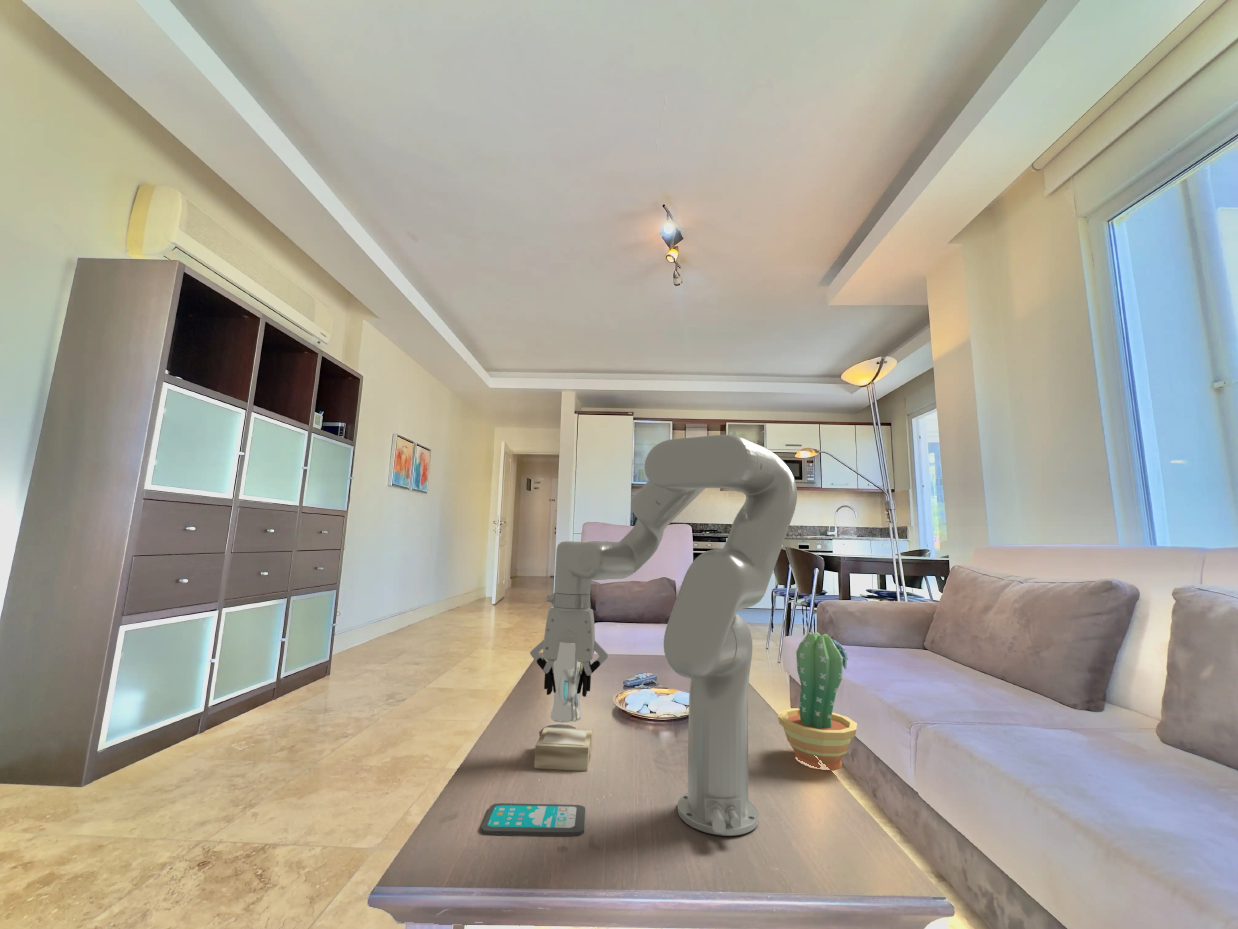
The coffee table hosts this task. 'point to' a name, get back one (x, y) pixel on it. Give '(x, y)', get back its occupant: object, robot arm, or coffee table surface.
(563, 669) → the beer glass
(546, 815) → the smartphone
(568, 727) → the rubber coaster
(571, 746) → the oak plinth
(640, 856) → the coffee table surface
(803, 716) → the potted cactus
